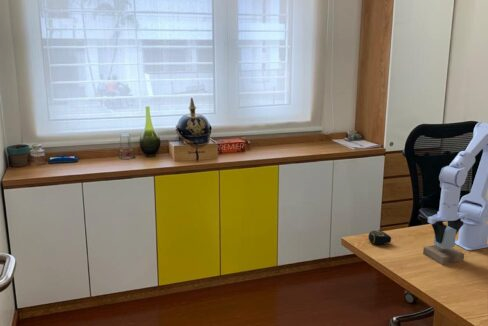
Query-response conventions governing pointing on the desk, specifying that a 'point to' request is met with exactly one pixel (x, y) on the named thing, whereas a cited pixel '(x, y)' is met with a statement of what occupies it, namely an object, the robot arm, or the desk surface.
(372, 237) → the tape measure
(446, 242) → the grey block
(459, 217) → the robot arm
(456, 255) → the walnut base
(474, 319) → the desk surface
